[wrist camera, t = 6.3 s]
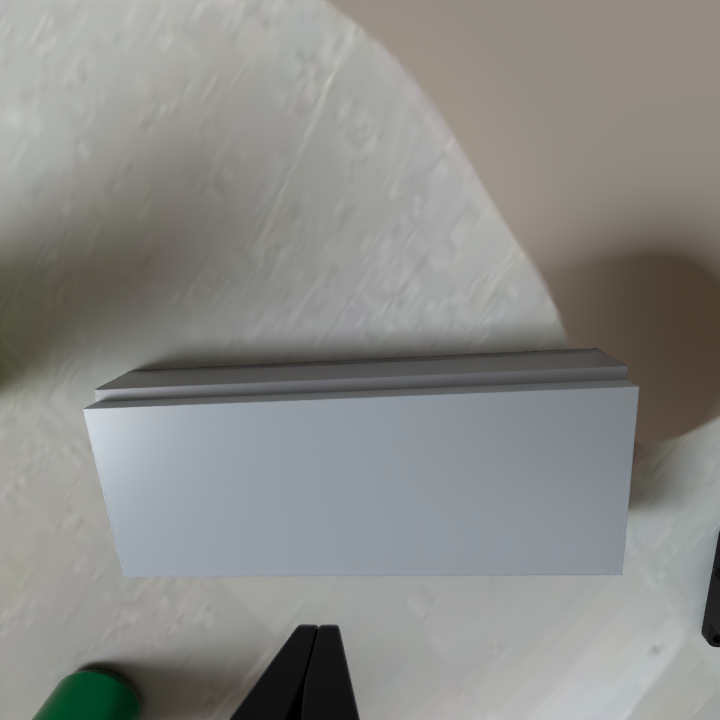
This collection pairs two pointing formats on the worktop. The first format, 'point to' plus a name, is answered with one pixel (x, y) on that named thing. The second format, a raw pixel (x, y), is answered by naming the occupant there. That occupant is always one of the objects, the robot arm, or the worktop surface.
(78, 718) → the soda can
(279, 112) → the worktop surface
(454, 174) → the worktop surface
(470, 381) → the grey rectangular tray
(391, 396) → the cover
